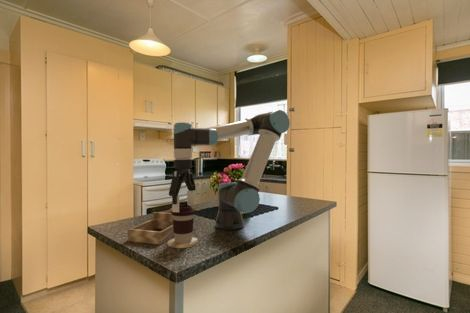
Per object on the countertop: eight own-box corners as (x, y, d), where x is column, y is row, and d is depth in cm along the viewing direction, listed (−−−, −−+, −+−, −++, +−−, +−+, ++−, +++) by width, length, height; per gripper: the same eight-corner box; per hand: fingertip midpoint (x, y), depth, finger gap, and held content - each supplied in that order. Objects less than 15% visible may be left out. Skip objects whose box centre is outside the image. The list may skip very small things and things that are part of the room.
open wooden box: (183, 230, 129) (183, 214, 128) (161, 244, 108) (161, 225, 108) (155, 227, 133) (154, 212, 133) (127, 240, 113) (127, 222, 113)
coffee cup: (198, 242, 110) (198, 207, 109) (176, 246, 104) (176, 209, 104) (189, 235, 118) (189, 203, 118) (168, 240, 112) (168, 205, 112)
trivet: (202, 239, 115) (202, 237, 115) (190, 249, 103) (190, 248, 103) (176, 236, 119) (176, 235, 119) (161, 246, 106) (161, 244, 106)
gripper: (187, 158, 123) (188, 202, 124) (159, 160, 99) (159, 214, 99) (202, 158, 121) (202, 202, 122) (176, 160, 97) (177, 215, 97)
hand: (183, 208), depth 111 cm, fingers open, 13 cm apart
